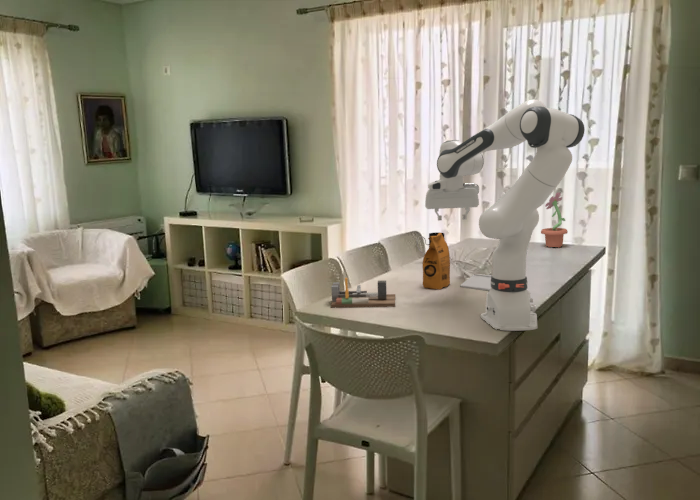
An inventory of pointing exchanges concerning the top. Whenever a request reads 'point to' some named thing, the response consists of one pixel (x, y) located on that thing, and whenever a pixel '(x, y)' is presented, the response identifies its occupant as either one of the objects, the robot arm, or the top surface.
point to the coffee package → (436, 264)
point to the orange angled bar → (346, 288)
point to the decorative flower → (555, 234)
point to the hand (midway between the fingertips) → (452, 219)
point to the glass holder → (429, 240)
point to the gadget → (478, 282)
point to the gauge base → (371, 303)
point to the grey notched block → (379, 295)
